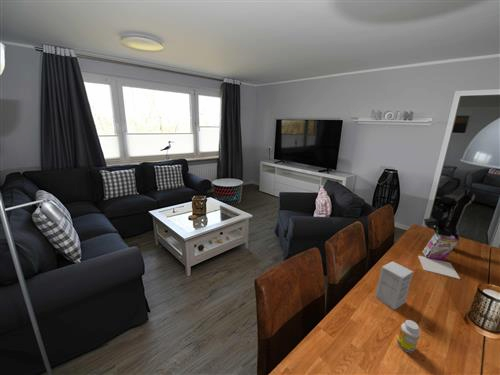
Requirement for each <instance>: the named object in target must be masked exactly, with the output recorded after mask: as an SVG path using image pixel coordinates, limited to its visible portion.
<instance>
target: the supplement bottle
mask: <svg viewBox="0 0 500 375" xmlns="http://www.w3.org/2000/svg"><path fill="white" fill-rule="evenodd" d="M400 325H401V326H400V328H399V333H398V336H397V341H396V342H397V346H399V348H400V349H401V350H403V351H404V352H406V353H411V354H412V353H414V352H415V351H416V348H417V345H418V341H419V339H420V334H421V332H420V330H419V329H420V328H419V327H420V326H419V325H418V323H416V322H415V321H414V320H411V319H407V320H405V322H404V323H402V324H400Z"/></svg>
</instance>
